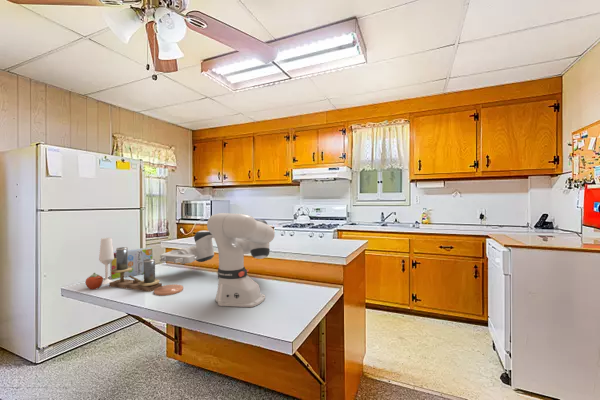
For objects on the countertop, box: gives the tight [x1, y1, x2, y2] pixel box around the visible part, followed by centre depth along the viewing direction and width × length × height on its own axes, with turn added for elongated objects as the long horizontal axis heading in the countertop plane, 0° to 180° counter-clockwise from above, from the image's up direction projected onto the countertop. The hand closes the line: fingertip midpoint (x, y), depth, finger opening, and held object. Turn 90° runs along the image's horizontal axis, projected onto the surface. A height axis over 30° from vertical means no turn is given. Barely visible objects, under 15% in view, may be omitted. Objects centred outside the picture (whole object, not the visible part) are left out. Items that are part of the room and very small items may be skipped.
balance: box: [108, 267, 163, 292], centre depth 147 cm, size 27×9×8 cm, turn 73°
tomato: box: [84, 272, 104, 290], centre depth 145 cm, size 7×7×8 cm
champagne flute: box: [98, 237, 114, 285], centre depth 154 cm, size 7×7×24 cm
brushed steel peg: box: [143, 258, 156, 283], centre depth 144 cm, size 5×5×11 cm
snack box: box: [109, 247, 154, 280], centre depth 169 cm, size 21×6×15 cm, turn 130°
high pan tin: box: [115, 246, 129, 270], centre depth 150 cm, size 5×5×11 cm
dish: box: [153, 283, 184, 296], centre depth 141 cm, size 13×13×1 cm
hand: (167, 260), depth 156 cm, fingers open, 8 cm apart
